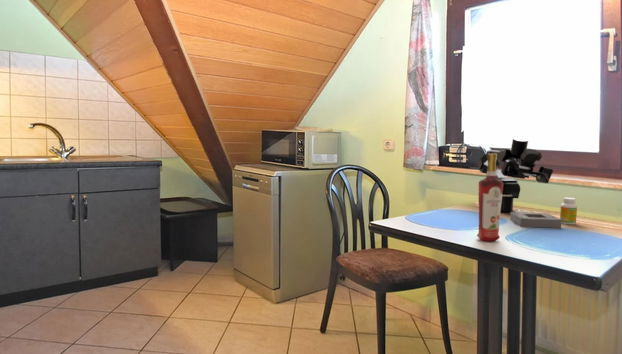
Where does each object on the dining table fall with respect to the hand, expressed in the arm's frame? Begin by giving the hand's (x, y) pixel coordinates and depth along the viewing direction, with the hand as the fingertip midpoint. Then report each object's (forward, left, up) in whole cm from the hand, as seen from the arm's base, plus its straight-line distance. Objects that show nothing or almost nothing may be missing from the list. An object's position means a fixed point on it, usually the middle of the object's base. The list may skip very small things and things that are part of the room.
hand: (536, 179), depth 162 cm
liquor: (+29, -23, -17) cm, 41 cm away
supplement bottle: (-4, +14, -17) cm, 23 cm away
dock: (-1, +1, -17) cm, 17 cm away
